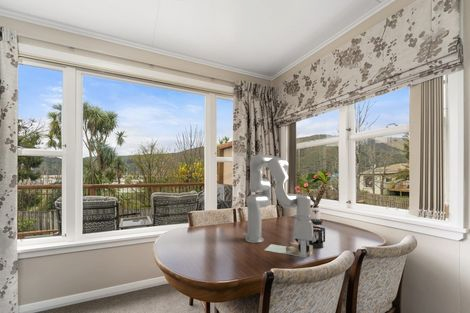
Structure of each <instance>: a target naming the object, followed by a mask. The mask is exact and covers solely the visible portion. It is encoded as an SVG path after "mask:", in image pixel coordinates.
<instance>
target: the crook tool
mask: <svg viewBox="0 0 470 313" xmlns="http://www.w3.org/2000/svg"><path fill="white" fill-rule="evenodd" d="M300 242H301V255H302V256H307V253H306V245H307V240H302V239H301V241H300Z"/></svg>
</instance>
